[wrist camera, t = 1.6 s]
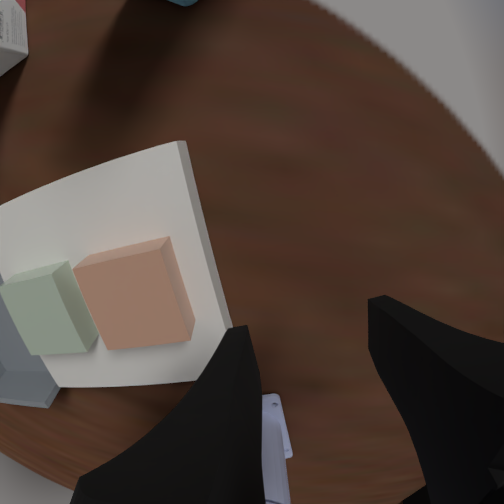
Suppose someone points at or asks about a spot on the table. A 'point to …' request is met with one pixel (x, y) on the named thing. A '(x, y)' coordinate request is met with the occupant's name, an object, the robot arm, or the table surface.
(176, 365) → the ledge board
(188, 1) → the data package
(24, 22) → the ink cartridge box
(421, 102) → the table surface
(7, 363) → the bin
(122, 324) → the terracotta tile
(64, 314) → the green tile
